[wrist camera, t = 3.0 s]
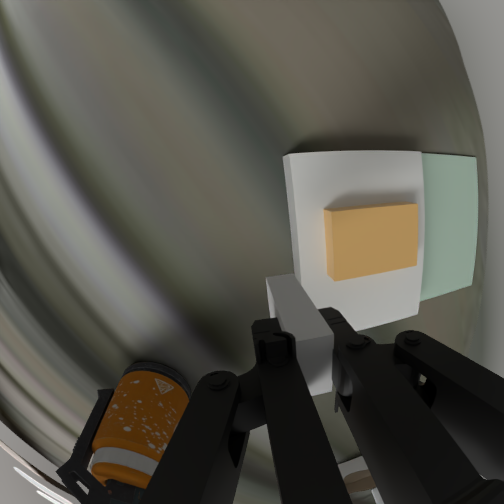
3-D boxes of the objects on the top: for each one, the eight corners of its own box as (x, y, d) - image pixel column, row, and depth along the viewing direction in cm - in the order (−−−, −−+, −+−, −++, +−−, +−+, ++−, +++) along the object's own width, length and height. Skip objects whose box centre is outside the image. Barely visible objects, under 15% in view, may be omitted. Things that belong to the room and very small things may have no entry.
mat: (411, 153, 26) (413, 152, 25) (474, 157, 26) (476, 157, 26) (411, 302, 30) (412, 303, 30) (469, 283, 31) (471, 284, 30)
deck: (282, 156, 25) (289, 153, 22) (405, 152, 25) (421, 151, 23) (298, 327, 30) (304, 342, 27) (404, 303, 30) (417, 314, 27)
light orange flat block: (326, 274, 25) (334, 281, 23) (323, 209, 23) (331, 211, 22) (406, 259, 25) (416, 265, 23) (406, 201, 24) (417, 203, 22)
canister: (187, 414, 32) (173, 544, 13) (110, 394, 31) (63, 509, 11) (196, 368, 30) (177, 525, 11) (108, 345, 29) (35, 474, 9)
